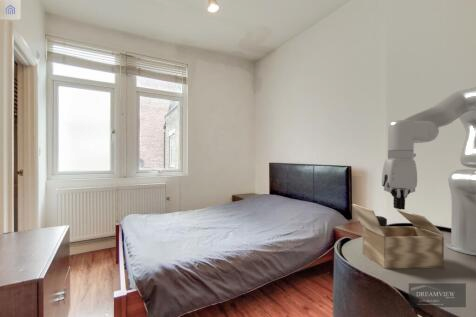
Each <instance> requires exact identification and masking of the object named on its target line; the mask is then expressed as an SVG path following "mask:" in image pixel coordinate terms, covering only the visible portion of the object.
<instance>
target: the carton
mask: <svg viewBox="0 0 476 317" xmlns="http://www.w3.org/2000/svg"><path fill="white" fill-rule="evenodd" d="M381 229H382V231H383V233H384V235H385V236H381V235H379V234H377V233H375V232H373V231H371V230H369V229H367V228H365V227H362V233H363V234H362V255H364V256H365V257H367V258H369V259H370V260H371V261H373V262H374V263H376V264H377V265H379V266H380V267H382V268H384V269H386V270H387V269H391V270H392V269H432V268H434V269H435V268H438V269H441V268H444V260H445V259H444V256H445V255H444V254H445V252H444V250H445V249H444V247H445V242H444V240H445V239H444V238H445V236H444V235H440V234H437V233H434V232H431V231H429V230H426V229H423V228H420V227H417V226H387V227H381Z"/></svg>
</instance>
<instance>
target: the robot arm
mask: <svg viewBox="0 0 476 317" xmlns="http://www.w3.org/2000/svg"><path fill="white" fill-rule="evenodd" d="M458 119H459V120H460V122H461V124H462V125H463V128H464V129H465V132H466V133H465V140H464V143H463V147H462V149H461V152H460V153H461V154H460V159H459V160H460V163H461V165H462V166H463V167H466V168H467V169H464V168H463V169H458V170H453V171H452V172H451V173H450V174H449V176H448V186H449V191H450V195H451V196H450V198H451V199H450V200H451V221H450V222H451V225H450V226H451V228H450V229H451V230H450V231H451V232H450V234H451V239H450V241H447V242H446V243H445V246H446V247H447V248H448V249H449V250H452V251H454V252H458V253H462V254H465V255H470V256H476V86H475V87H471V88H466V89H461V90H459V91H456V92H453V93H451V94H449V95H448V96H446V97H444V98H443V99H441V101H440V102H438V103H436V104H434V106H431V107H429V108H426V109H424V110H421V111H420V112H418V113H415V114H413V115H411V116H408V117H406V118H404V119H401V120H400V119H399V120H393V121H391V122H389V123H388V134H387V139H388V140H387V159H385V160H384V163H383V165H382V166H383V167H382V168H383V169H382V175H381V186H383V191H384V192H388V193H389V194H391V196H392V197H393V203H392V204H393V208H394V209H396V210H397V209H399V210H402V211H405V209H406V208H405V207H406V199H407V198H408V196H409V195H410V194H412V193H415V192H416V188H417V186H418V170H417V164H416V161H415V160H414V159H415V158H416V156H417V154H416V153H415V144H423V143H429V142H433V141H434V140H436V139H437V137H438V136H439V133H440V130H439V128H442V127H445V126H448V125H450V124H453V122H455V121H456V120H458ZM468 168H469V169H468ZM470 168H471V169H470Z"/></svg>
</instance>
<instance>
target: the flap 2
mask: <svg viewBox="0 0 476 317" xmlns="http://www.w3.org/2000/svg"><path fill="white" fill-rule="evenodd" d="M396 211H397V212H398V213H399V214H401V215H402V216H403V217H404V218H405V219H406V220H407V221H409V223H411V224H412V225H413V227H417V228H420V229H423V230H425V231H428V232H431V233H434V234H437V235H440V236H444V233H443V232H442V231H441V230H440V229H439V228H438V227H436V226H435V225H434V224H433V223H432V222H431V221H430V220H428V218H426V217H425V216H423V215H419V214H415V213H413V212H409V211H406V210H403V209H396Z"/></svg>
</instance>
